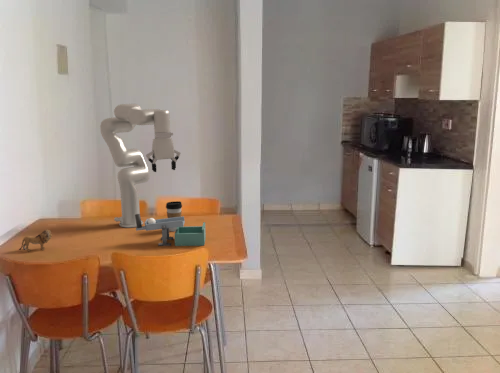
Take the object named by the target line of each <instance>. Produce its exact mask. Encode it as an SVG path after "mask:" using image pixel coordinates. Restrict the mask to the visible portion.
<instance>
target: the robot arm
mask: <svg viewBox="0 0 500 373" xmlns="http://www.w3.org/2000/svg"><path fill="white" fill-rule="evenodd" d="M113 114H114V116H115V117H113V116H112V117H107V118H104V119H103V120H102V121H101V122H100V126H99V127H100V128H99V129H100V134H101V136H102V138H103V140H104V142H105V143H106V145H107V147H108V149H109V152H110V154H111V156H112V160H113V162H114V164H115V166H116V167H118V168H122V169H120V170H119V171H118V173H117V181H118V185H119V191H120V193H119V194H120V205H121V216H119V217H114V219H113V220H114V221H115V222H116V223H117V222H119V227H121V228H137V225H136V219H135V214H140V215H141V212H140V192H139V190H138V189H137V188H136V186H135V185H139V184H144V183H147V182H149V180H150V177H151V175H150V174H151V173H150V170H149V167H148V165H147V162H146V160H145V158H144V155H143V153H142V152H141V150H139V149H138V148H127V147H126V144H125V141H124V140H123V139H122V138H121V137H120V136H119V135H117V134H120V133H121V134H123V133H129V132H132V131H133V130H134V128H135V127H136V126H152V125H154V126H153V127H154V128H153V130H154V138H153V139H152V147H151V151H150V152H149V153H147V154H146V155H145V157H146V159H147V161H148V162H150V163H151V170H152V172H154V173H157V164H156V163H157V161H161V160H171V161H170V162H171V170H172V171H175V170H176V165H177V164H176V162H177V161H178V159H180V156H181V152H180V151H178V150H176V149H175V148H174V142H173V139H172V136H174V133H173V132H171V120H170V118H171V117H170V111H169V110H167V109H159V108H150V109H149V108H148V109H146V108H145V109H142V107H141V106H140V105H139V104H137V103H121V104H118V105H116V106H115V107H114V109H113ZM175 154H176V155H175ZM141 223H142V225H143V224H144V221H143V220H142V219H141Z"/></svg>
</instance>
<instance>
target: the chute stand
mask: <svg viewBox="0 0 500 373" xmlns="http://www.w3.org/2000/svg"><path fill="white" fill-rule="evenodd" d="M168 240H169V241H172V240H173V241H174V240H175V236H170V231H169V228H166V226H162V229H161V237H160V241H162V242H158V243H157V246H158V247H171V246H172V242H168Z"/></svg>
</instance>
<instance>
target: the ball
mask: <svg viewBox="0 0 500 373" xmlns="http://www.w3.org/2000/svg"><path fill="white" fill-rule="evenodd" d="M147 219H148V221H147V223H148V224H153V223H156V221H155V220H156V219H155V218H154V217H150V218H147Z"/></svg>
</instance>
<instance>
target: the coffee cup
mask: <svg viewBox="0 0 500 373" xmlns="http://www.w3.org/2000/svg"><path fill="white" fill-rule="evenodd" d="M182 208H183V204H182V201H179V200H178V201H169V202H166V204H165V209H166V215H167V216H166V218H174V217H182V213H183V212H182ZM176 229H177V227H174V228H169V232H174V233H175V231H176Z"/></svg>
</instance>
